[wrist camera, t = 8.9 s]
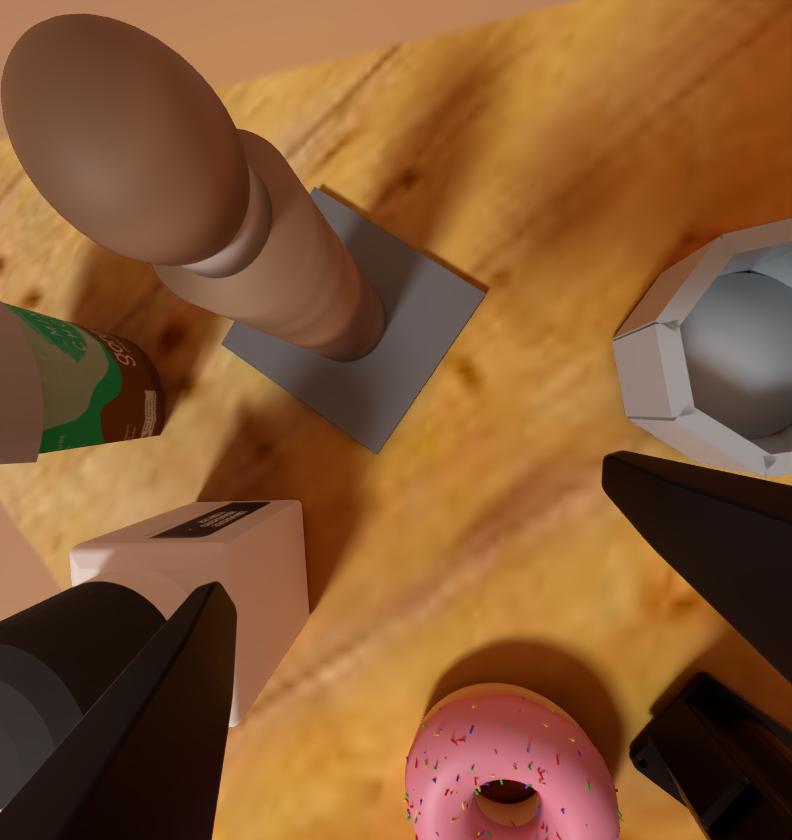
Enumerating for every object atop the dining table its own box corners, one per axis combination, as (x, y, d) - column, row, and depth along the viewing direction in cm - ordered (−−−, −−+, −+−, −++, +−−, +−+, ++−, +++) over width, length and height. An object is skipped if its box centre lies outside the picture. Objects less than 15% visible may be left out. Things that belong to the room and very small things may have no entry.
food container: (210, 357, 22) (19, 315, 12) (178, 444, 23) (-28, 470, 13) (60, 291, 24) (-216, 207, 14) (34, 374, 24) (-250, 349, 14)
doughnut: (528, 632, 20) (549, 690, 16) (640, 803, 19) (693, 910, 15) (375, 713, 21) (358, 785, 17) (474, 874, 21) (480, 989, 17)
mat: (484, 296, 20) (485, 293, 19) (378, 453, 21) (376, 454, 20) (317, 191, 21) (314, 186, 20) (226, 345, 22) (221, 344, 21)
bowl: (881, 329, 17) (1024, 303, 13) (743, 495, 18) (833, 521, 14) (693, 225, 18) (768, 169, 14) (574, 387, 19) (610, 381, 15)
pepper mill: (397, 293, 20) (207, -82, 5) (369, 373, 20) (113, 266, 5) (322, 270, 20) (-51, -119, 5) (297, 347, 21) (-114, 186, 6)
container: (193, 500, 23) (-140, 619, 10) (303, 497, 22) (90, 627, 9) (201, 615, 23) (-115, 881, 10) (311, 619, 22) (114, 924, 9)
